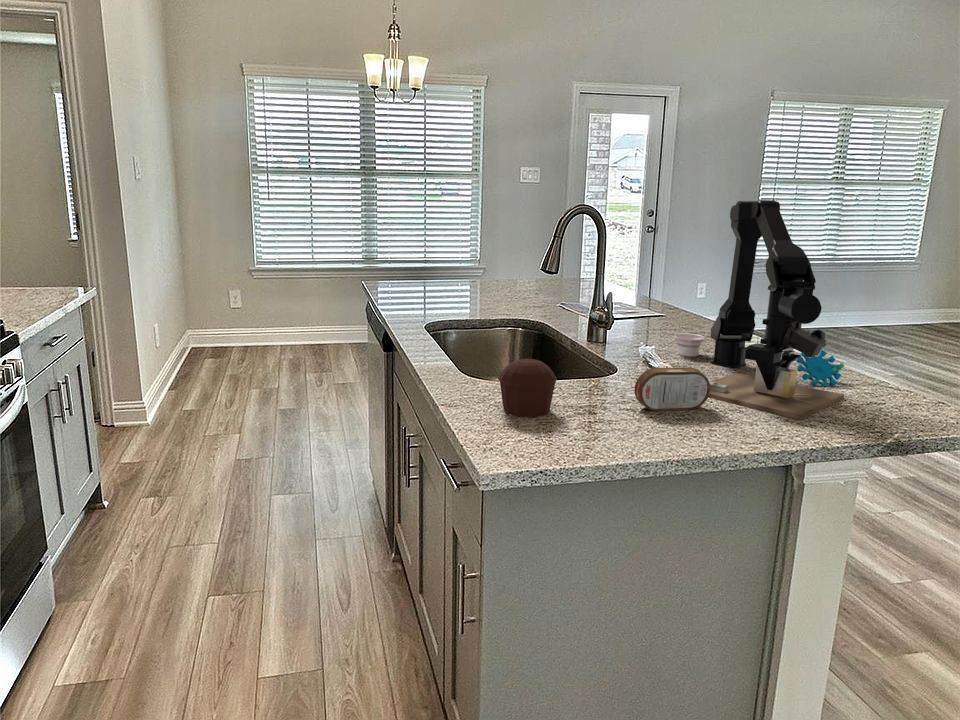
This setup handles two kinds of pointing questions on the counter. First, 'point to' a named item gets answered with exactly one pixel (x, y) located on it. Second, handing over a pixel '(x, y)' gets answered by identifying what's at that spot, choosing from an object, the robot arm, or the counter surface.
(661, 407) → the tin
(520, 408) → the muffin
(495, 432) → the counter surface
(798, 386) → the base
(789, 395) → the white box tan top
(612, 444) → the counter surface
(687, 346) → the pink white bowl
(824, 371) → the gear
